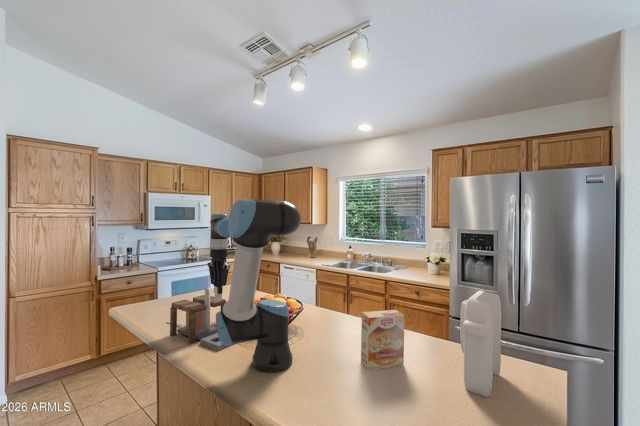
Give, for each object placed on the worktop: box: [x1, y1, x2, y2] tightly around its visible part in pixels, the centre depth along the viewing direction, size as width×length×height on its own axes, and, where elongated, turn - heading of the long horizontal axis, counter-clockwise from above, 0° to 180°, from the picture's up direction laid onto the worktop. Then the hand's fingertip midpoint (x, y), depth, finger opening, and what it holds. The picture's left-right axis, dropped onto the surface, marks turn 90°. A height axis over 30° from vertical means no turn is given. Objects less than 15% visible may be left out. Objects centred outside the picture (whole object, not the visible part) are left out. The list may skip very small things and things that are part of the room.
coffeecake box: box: [360, 309, 405, 371], centre depth 117 cm, size 15×7×20 cm, turn 105°
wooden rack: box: [165, 294, 227, 345], centre depth 150 cm, size 36×19×15 cm, turn 57°
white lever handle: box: [177, 287, 218, 341], centre depth 145 cm, size 16×12×21 cm
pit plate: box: [200, 333, 232, 352], centre depth 136 cm, size 12×14×2 cm
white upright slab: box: [459, 289, 503, 398], centre depth 107 cm, size 27×11×30 cm, turn 141°
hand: (218, 300), depth 138 cm, fingers closed
